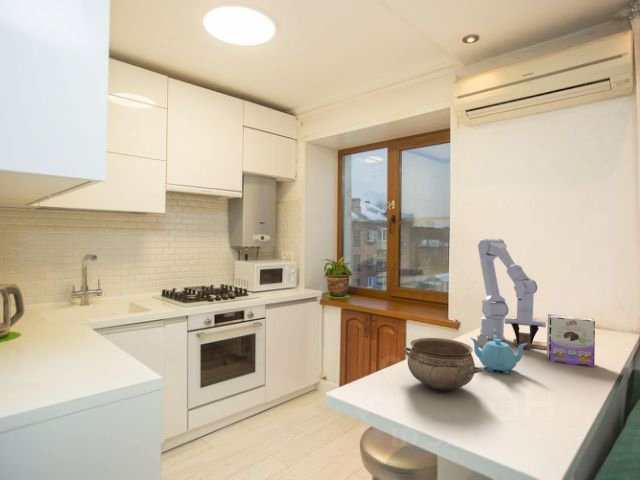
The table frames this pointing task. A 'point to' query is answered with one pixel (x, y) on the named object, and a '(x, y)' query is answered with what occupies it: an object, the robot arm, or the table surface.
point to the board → (535, 344)
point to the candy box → (571, 340)
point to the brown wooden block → (524, 340)
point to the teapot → (498, 355)
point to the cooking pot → (441, 363)
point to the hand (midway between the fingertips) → (524, 343)
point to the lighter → (485, 338)
